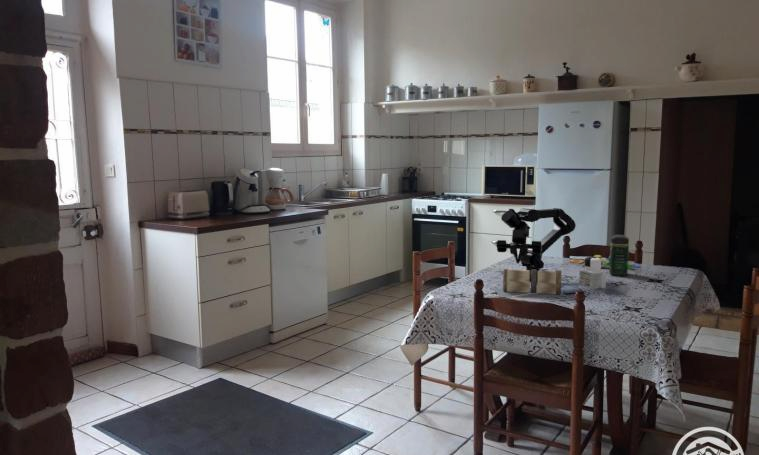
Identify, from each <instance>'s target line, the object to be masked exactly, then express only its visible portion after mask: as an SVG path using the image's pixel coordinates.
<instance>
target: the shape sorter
mask: <svg viewBox="0 0 759 455" xmlns="http://www.w3.org/2000/svg"><path fill="white" fill-rule="evenodd" d="M593 257H598V258H600V259H601V269H603V270H605V269H608V270H610V255H609V256H608V259H605V258H603V259H602V255H600V254H595V255H594V256H593ZM568 263H570V264H582V267H584V268H585V260H579V259H572V260H569V261H568ZM640 267H641V266H640V265H639V264H638V263H629V262H628V271H630V270H633V268H640Z"/></svg>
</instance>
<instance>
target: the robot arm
mask: <svg viewBox="0 0 759 455" xmlns="http://www.w3.org/2000/svg"><path fill="white" fill-rule="evenodd" d="M500 217H501V221H502V222H503V223H504V224H506V226H508V228H511V229H512V232H511V233H512V234H511V242H509V243H507V240H505V239H497V241H496V251H497V252H498V253H506V252H507V251H508V249H509V250H510V251H509V252H510V254H511V255H512V256H513V257H514V259H515V262H516V264H520V262H521V266H522V267H525V268H526V269H525V270H530V283H531V269H536V270H537V283H538V271H540V270H541V269H544V266H545V262H544V261H543V260H542V257H543V254H544V253H545V252H546V251H547V250H549V248H550V247H551V246H552V245H554V244H555V242H557V241H558V240H560V238H561V237H562V236H566V235H569V234H571V233H572V232H573V231H574V230H575V229H576V222H575V220H574V219H573V217H571V216H570V215H569V214H567V213H566V212H565V211H564V210H563V209H562V208H557V207H554V208H547V209H543V208H542V209H533V208H524V207H522V208H520V210H519V211H518V212H516V211H515V209H514V208H509V209H508V210H506V211H504V212H503V214H502V215H501V216H500ZM551 218H552V222H553V223H554V225H553V229H552V230H550V231H549V232H548V233H547V234H546V235H545V236H544V237H542V238H541V239H540V240H531V243H527V238H530V229H531V227H530V226H529V224H528V223H527V222H529V223H534V222H538V221H539V220H540V219H551ZM518 250H519V251H518Z"/></svg>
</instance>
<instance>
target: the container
mask: <svg viewBox="0 0 759 455" xmlns="http://www.w3.org/2000/svg"><path fill="white" fill-rule="evenodd" d="M601 259H602V258H601ZM601 259H600V258H598V257H594V256H587V257H585V258H584V261H585V262H584V263H585V267H584V268H581V269H579V280H578V282H579V284H578V285H579V287H583V288H587V289H590V290H595V289H603V290H604V289H606V288H607V285H606V284H607V270H605V269H602V268H601Z"/></svg>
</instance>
